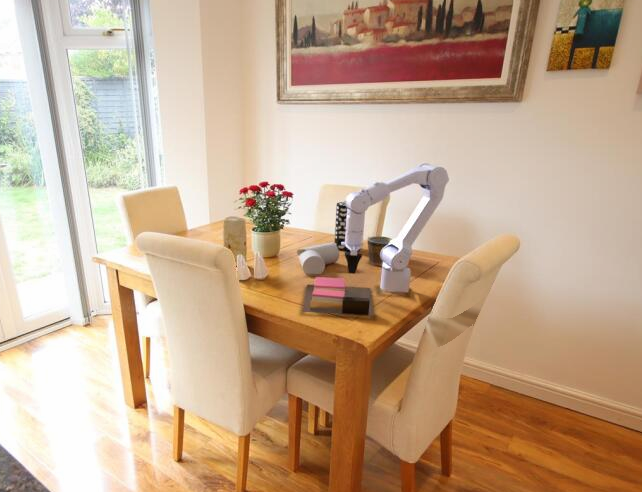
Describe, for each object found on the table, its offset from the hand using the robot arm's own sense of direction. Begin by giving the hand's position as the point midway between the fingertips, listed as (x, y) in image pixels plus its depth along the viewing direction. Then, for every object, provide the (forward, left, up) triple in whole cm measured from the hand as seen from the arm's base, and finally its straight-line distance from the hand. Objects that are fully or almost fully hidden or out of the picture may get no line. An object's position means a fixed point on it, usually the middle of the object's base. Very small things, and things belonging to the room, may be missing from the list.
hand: (351, 269), depth 155 cm
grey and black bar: (+4, +17, -8) cm, 19 cm away
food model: (+46, -25, -10) cm, 53 cm away
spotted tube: (+2, -54, -10) cm, 55 cm away
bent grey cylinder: (+12, -26, -10) cm, 30 cm away
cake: (+7, +2, -8) cm, 11 cm away
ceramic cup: (-11, -36, -10) cm, 39 cm away
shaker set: (+36, -10, -10) cm, 39 cm away
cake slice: (+7, +12, -8) cm, 16 cm away
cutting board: (+4, +7, -9) cm, 12 cm away
